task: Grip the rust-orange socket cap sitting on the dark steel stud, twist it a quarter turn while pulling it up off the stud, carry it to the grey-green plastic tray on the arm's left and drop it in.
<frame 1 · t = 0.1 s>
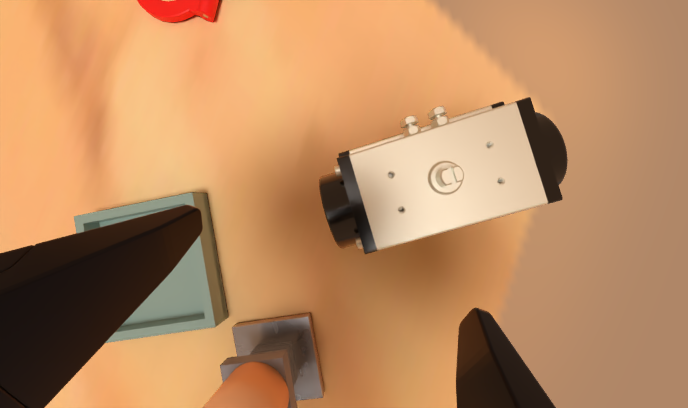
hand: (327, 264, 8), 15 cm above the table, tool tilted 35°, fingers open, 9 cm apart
bin: (160, 264, 25), on the table
stud fixture: (279, 356, 24), on the table
pneumatic valve: (408, 185, 23), on the table
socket: (262, 385, 20), point 4 cm above the table, touching stud fixture
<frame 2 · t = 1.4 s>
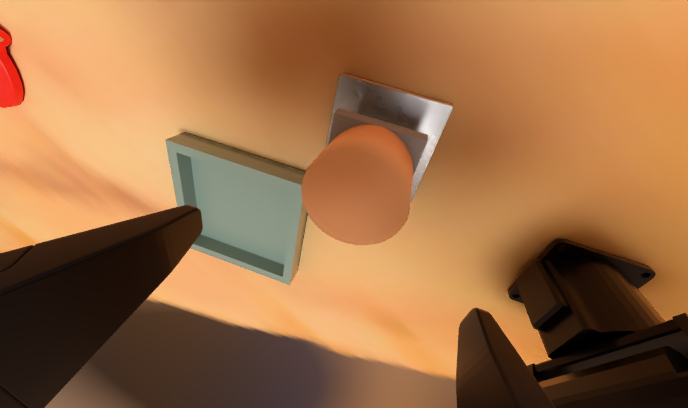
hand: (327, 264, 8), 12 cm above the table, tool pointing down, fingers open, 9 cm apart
bin: (247, 208, 25), on the table
stud fixture: (380, 141, 18), on the table
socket: (370, 162, 15), point 4 cm above the table, touching stud fixture
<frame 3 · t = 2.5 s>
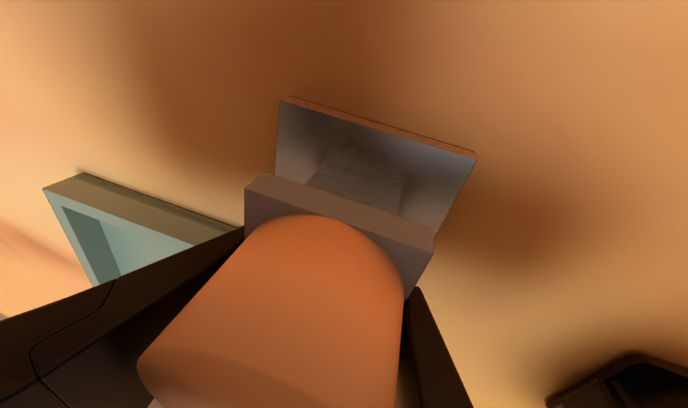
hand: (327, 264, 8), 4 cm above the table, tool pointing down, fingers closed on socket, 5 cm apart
bin: (183, 271, 18), on the table
stud fixture: (355, 200, 12), on the table
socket: (329, 259, 8), point 4 cm above the table, touching gripper, stud fixture
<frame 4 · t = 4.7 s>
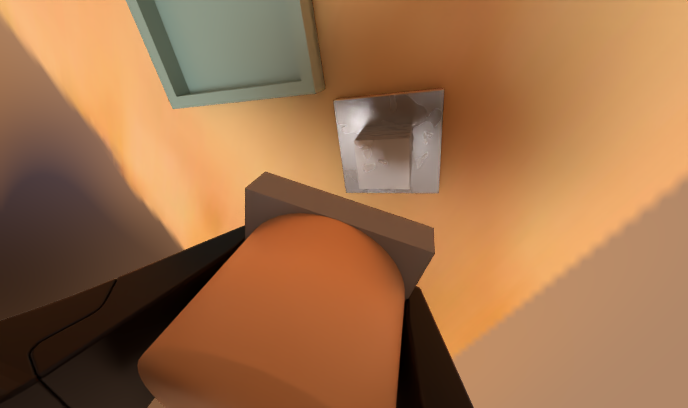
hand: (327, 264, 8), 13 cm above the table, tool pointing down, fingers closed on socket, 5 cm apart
bin: (226, 1, 17), on the table
stud fixture: (389, 145, 19), on the table
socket: (330, 259, 8), point 13 cm above the table, touching gripper
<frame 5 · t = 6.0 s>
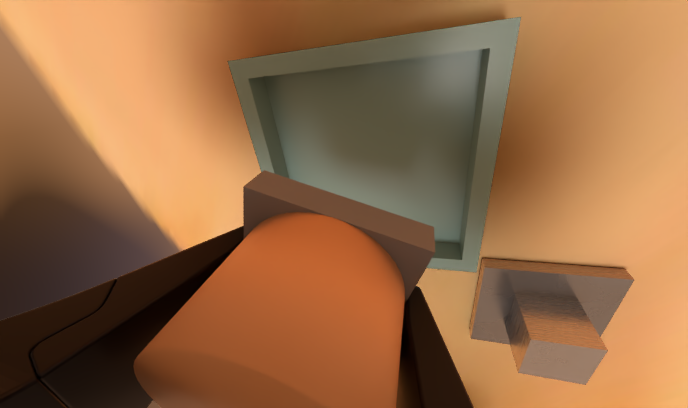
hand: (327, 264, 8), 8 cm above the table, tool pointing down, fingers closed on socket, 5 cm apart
bin: (370, 161, 15), on the table
stud fixture: (534, 303, 17), on the table
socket: (329, 258, 8), point 8 cm above the table, touching gripper
when the fingers open (3 cm above the table, at t = 6.9 s): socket drops 2 cm, resting on bin.
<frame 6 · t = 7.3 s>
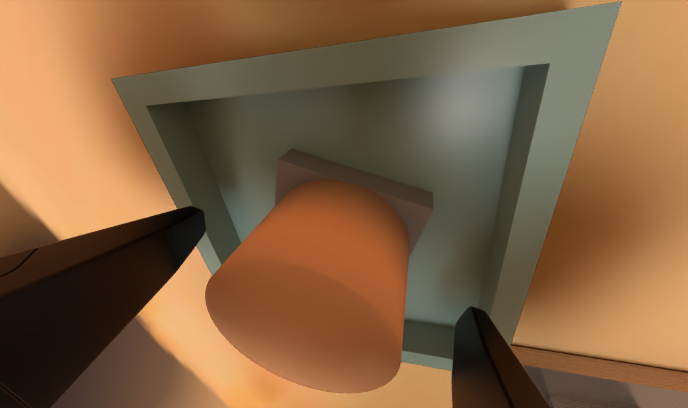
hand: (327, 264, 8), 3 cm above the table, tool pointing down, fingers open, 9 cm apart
bin: (347, 217, 10), on the table
stud fixture: (573, 400, 13), on the table
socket: (344, 225, 10), point 1 cm above the table, touching bin
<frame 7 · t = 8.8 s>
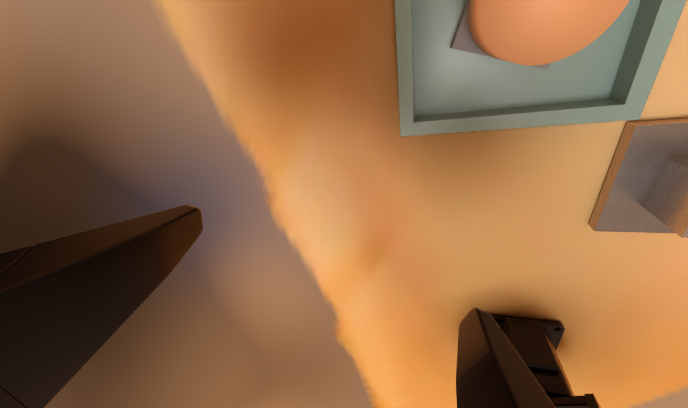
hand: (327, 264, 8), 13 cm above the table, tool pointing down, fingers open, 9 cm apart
bin: (513, 5, 14), on the table
stud fixture: (679, 176, 16), on the table
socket: (518, 3, 13), point 1 cm above the table, touching bin
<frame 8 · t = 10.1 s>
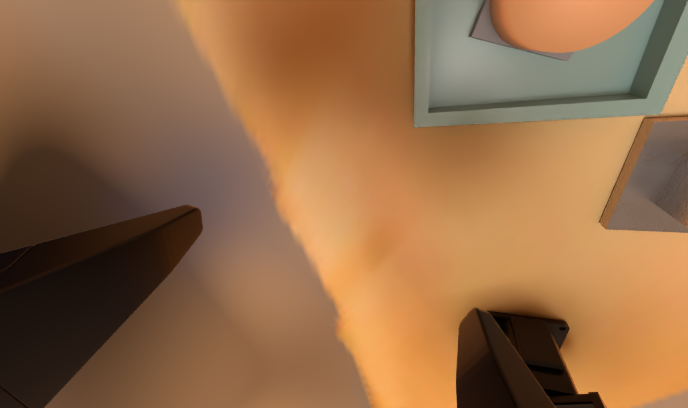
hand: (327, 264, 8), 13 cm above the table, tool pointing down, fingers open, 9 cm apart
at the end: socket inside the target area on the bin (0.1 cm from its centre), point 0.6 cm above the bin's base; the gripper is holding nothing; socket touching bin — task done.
